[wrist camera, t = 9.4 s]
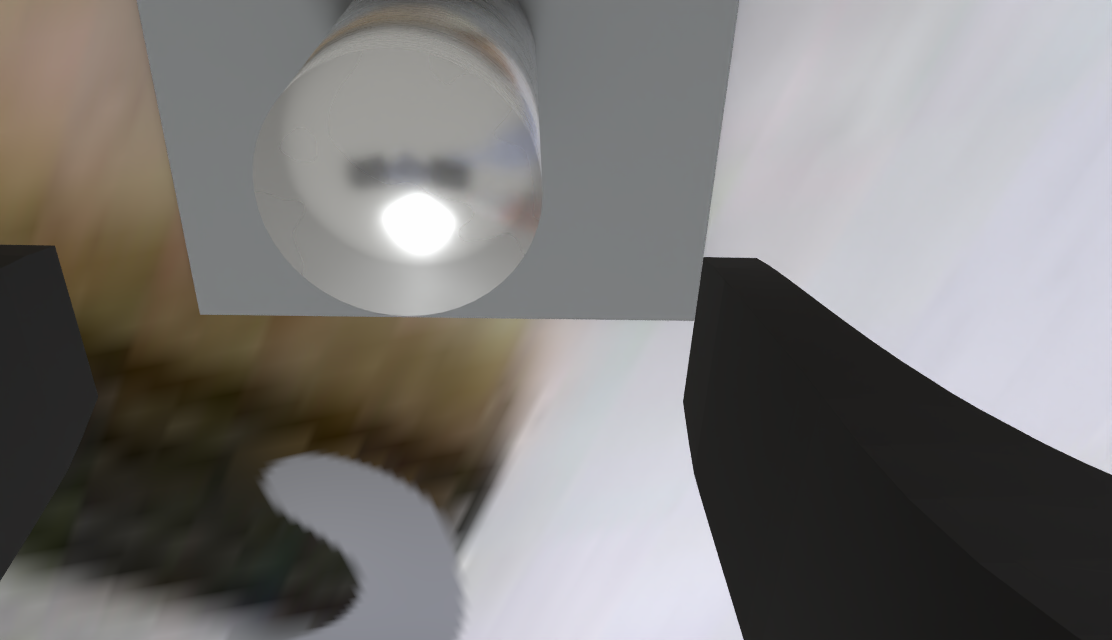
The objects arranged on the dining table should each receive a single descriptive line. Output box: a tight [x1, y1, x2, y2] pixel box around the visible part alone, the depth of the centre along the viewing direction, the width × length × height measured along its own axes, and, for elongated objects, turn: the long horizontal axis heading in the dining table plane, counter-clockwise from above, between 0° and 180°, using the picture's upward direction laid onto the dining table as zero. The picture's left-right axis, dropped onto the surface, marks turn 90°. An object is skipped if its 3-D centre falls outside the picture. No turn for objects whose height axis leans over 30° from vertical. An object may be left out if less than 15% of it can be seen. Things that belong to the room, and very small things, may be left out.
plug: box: [253, 0, 543, 316], centre depth 15 cm, size 4×4×7 cm
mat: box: [137, 0, 739, 321], centre depth 19 cm, size 12×12×1 cm
